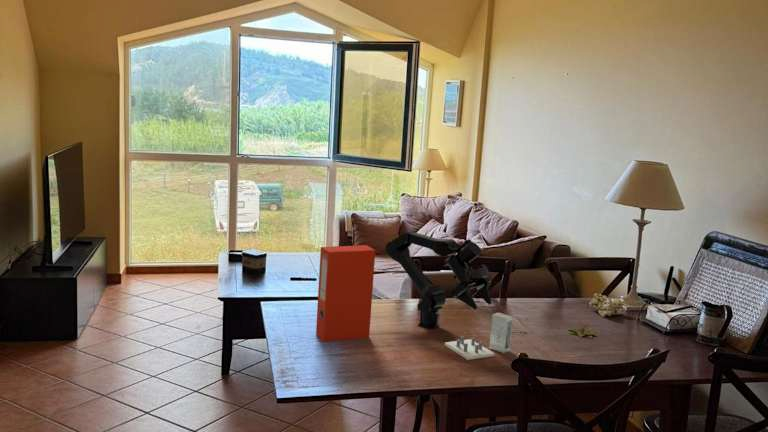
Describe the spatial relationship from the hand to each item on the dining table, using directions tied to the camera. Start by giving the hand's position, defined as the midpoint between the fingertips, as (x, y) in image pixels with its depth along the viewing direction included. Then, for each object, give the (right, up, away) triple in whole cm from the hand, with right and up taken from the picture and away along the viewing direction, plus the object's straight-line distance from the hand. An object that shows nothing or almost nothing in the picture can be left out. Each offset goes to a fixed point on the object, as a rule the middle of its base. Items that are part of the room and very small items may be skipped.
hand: (483, 306), depth 237 cm
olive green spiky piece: (+41, -14, +21) cm, 48 cm away
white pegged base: (-6, -14, -6) cm, 17 cm away
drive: (+5, -15, -3) cm, 16 cm away
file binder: (-50, -11, 0) cm, 51 cm away
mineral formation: (+60, -10, +50) cm, 78 cm away
